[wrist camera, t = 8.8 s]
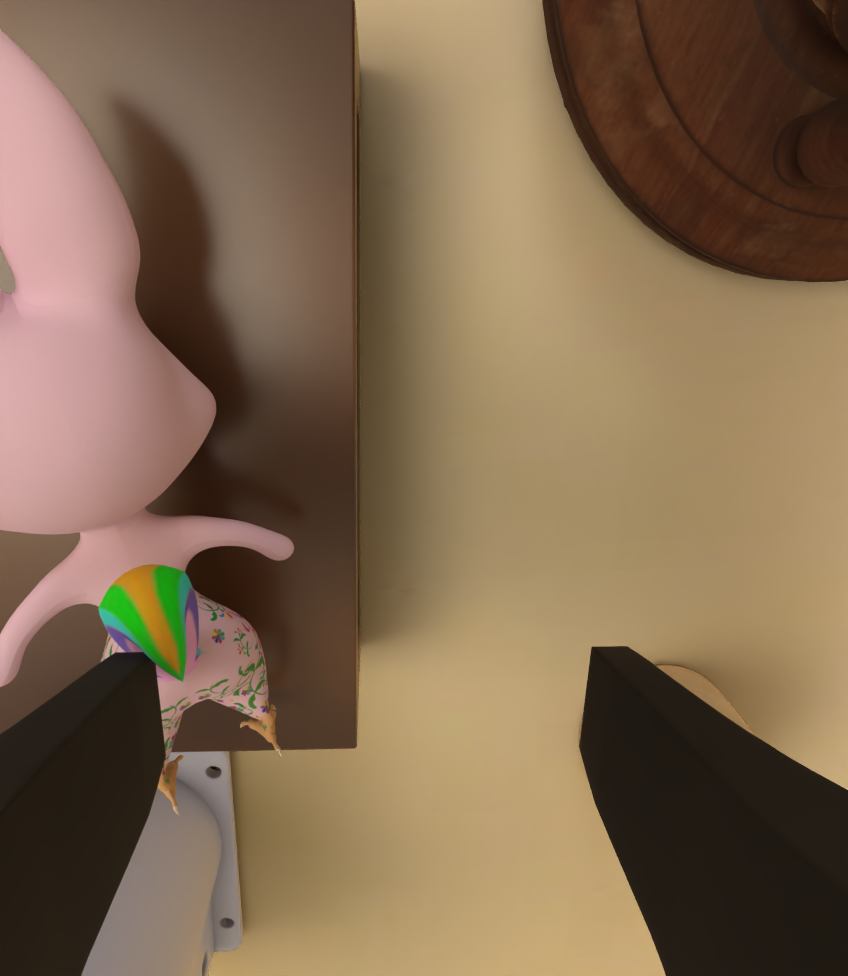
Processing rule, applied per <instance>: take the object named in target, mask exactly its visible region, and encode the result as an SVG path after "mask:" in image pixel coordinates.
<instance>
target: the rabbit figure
mask: <svg viewBox="0 0 848 976" xmlns="http://www.w3.org/2000/svg"><path fill="white" fill-rule="evenodd" d="M0 246H1V249H2V251H3V253H4V255H5V258H6V260H7V262H8V264H9V266H10V269H11V271H12V273H13V276H14V280H15V285H16V288H15V291H14V292H13V293H11V294H8V293H5V292H3V291H2V290H1V289H0V530H4V531H12V532H22V533H32V534H71V533H79V532H80V541H79V543H78V545H77V546H76V547H75V549H74V550H73V551H72V552H71V553H70V554H69V555H68V556H67V557H66V558H65V559H64V560H63V561H62V562H61V563H60V564H59V565H57V566H56V567H55V568H54V569H53V570H51V571H50V572H49V573H48V574H47V575H46V576H45V577H44V578H43V579H42V580H41V581H40V582H39V583H38V585H37V586H36V587H35V588H34V589H33V590H32V592H31V593H30V594H29V595H28V596H27V597H26V598H25V600H24V601H23V602H22V603H21V604H20V605H19V607H18V608H17V609H16V611H15V612H14V613H13V615H12V616H11V617H10V619H9V620H8V622H7V623H6V625H5V627H4V628H3V630H2V632H1V634H0V687H2V686H4V685H7V684H8V683H10V682H11V681H12V680H13V679H14V678H15V676H16V675H17V673H18V671H19V668H20V665H21V661H22V658H23V654H24V652H25V649H26V647H27V645H28V643H29V642H30V640H31V639H32V637H33V636H34V635H35V634H36V632H37V631H38V630H39V629H40V628H41V627H42V626H43V625H44V624H45V623H46V622H47V621H48V620H50V619H51V618H52V617H53V616H55V615H56V614H57V613H59V612H60V611H62V610H63V609H65V608H67V607H70V606H73V605H76V604H84V603H86V604H93V605H96V606H98V607H99V608H98V609H99V614H100V617H101V619H102V621H103V623H104V625H105V628H106V629H107V631H108V637H107V642H106V646H105V649H104V653H103V656H102V659H101V662H102V661H103V660H105V659H106V658H108V657H109V656H111V655H112V654H114V653H115V652H144V653H145V654H146V655H147V656H148V657H149V658H150V659H151V660H152V661H153V662H155V663H156V672H157V680H158V689H159V698H160V707H161V716H162V724H163V733H164V742H165V751H166V758H165V761H164V765H163V769H162V772H161V776H160V780H159V783H158V788H159V790H160V791H161V792H163V793H164V794H165V795H166V797H167V798H168V799H170V800H171V803H172V807H173V810H174V811H175V812H176V813H177V814H178V815H179V812H178V805H177V802H176V800H175V795H176V793H177V792H176V773H177V770H178V762H179V761H180V760H182V759H183V758H185V757H184V756H183V755H179V756H178V757H177V758H176V759H175V760H173V761H170V762H169V763H168V760H169V756H170V753H171V750H172V746H173V743H174V740H175V737H176V734H177V730H178V728H179V724H180V721H181V718H182V714H183V711H184V710H186V709H187V708H189V707H190V706H192V705H193V704H195V703H198V702H200V701H203V700H206V699H211V700H213V701H215V702H217V703H220V704H222V705H225V706H227V707H230V708H232V709H235V710H237V711H240V712H242V713H244V714H247V715H249V716H251V717H253V718H251V719H249V720H248V721H243V722H241V724H240V728H241V727H243V726H245V725H249V727H250V728H251V729H254V730H256V731H257V732H259V733H260V734H261V735H262V736H263V737H265V739H266V740H267V741H268V742H271V743H272V744H273V746H274V748H275V750H276V752H278V753H279V755H280V756H281V757H282V755H281V750H280V747H279V746H278V744H277V742H276V734H275V718H276V712H275V711H274V709H275V710H276V708H275V706H274V705H273V704H271V706H270V710H269V705H268V683H267V672H266V663H265V658H264V654H263V650H262V646H261V643H260V640H259V638H258V636H257V633H256V631H255V630H254V628H253V627H252V626H251V624H250V623H249V622H248V621H246V620H245V619H244V618H243V617H242V616H240V615H239V614H237V613H236V612H234V611H232V610H231V609H229V608H227V607H225V606H222V605H220V604H218V603H216V602H214V601H212V600H210V599H208V598H206V597H204V596H203V595H201V594H200V593H198V592H197V591H196V590H194V589H193V587H192V585H191V582H190V580H189V578H188V576H187V575H186V573H185V570H186V567H187V564H188V563H189V561H190V560H191V559H192V558H193V557H194V556H195V555H196V554H197V553H199V552H200V551H202V550H205V549H208V548H212V547H218V546H241V547H247V548H251V549H253V550H256V551H258V552H260V553H261V554H263V555H265V556H266V557H268V558H270V559H273V560H277V561H280V560H285V559H287V558H289V557H290V556H291V554H292V553H293V551H294V545H293V543H292V541H291V540H290V539H289V538H287V537H286V536H284V535H281V534H279V533H276V532H273V531H271V530H268V529H265V528H262V527H260V526H257V525H254V524H250V523H247V522H243V521H238V520H232V519H224V518H215V517H206V516H161V515H155V514H153V513H150V512H148V511H147V510H146V509H145V506H147V505H148V504H150V503H151V502H152V501H154V500H155V499H156V498H157V497H158V496H160V495H161V494H162V493H163V492H164V491H165V490H166V489H167V488H168V487H169V486H170V485H171V483H172V482H173V481H174V480H175V479H176V478H177V477H178V475H179V474H180V473H181V472H182V471H183V469H184V468H185V467H186V466H187V465H188V463H189V462H190V461H191V459H192V458H193V457H194V455H195V454H196V452H197V451H198V449H199V448H200V446H201V445H202V443H203V441H204V440H205V438H206V436H207V434H208V432H209V430H210V428H211V426H212V424H213V421H214V418H215V415H216V401H215V399H214V396H213V394H212V393H211V392H210V390H209V389H208V388H207V387H206V386H205V385H204V384H203V383H202V382H201V381H200V380H199V379H197V378H196V377H195V376H194V375H193V374H192V373H191V372H190V371H189V370H188V369H187V368H186V367H185V366H184V365H183V364H182V363H181V362H180V361H179V360H178V359H177V358H176V357H175V356H174V355H173V354H172V353H171V352H170V351H169V350H168V349H167V348H166V347H165V346H164V345H163V344H162V343H161V342H160V341H159V340H158V339H157V338H156V337H155V336H154V335H153V334H152V332H151V331H150V330H149V329H148V327H147V326H146V325H145V323H144V321H143V320H142V318H141V316H140V314H139V312H138V309H137V306H136V302H135V288H136V282H137V277H138V272H139V266H140V247H139V241H138V236H137V233H136V229H135V226H134V223H133V220H132V217H131V214H130V211H129V208H128V206H127V203H126V201H125V198H124V196H123V194H122V192H121V190H120V188H119V186H118V184H117V182H116V180H115V178H114V176H113V174H112V172H111V170H110V169H109V167H108V165H107V163H106V162H105V160H104V158H103V156H102V154H101V152H100V151H99V149H98V147H97V145H96V143H95V141H94V139H93V138H92V136H91V134H90V133H89V131H88V129H87V128H86V126H85V125H84V123H83V121H82V120H81V118H80V117H79V115H78V114H77V112H76V111H75V110H74V108H73V107H72V106H71V104H70V103H69V102H68V100H67V99H66V98H65V96H64V95H63V94H62V93H61V91H60V90H59V89H58V88H57V86H56V85H55V84H54V83H53V82H52V81H51V80H50V78H49V77H48V76H47V75H46V74H45V73H44V72H43V71H42V70H41V68H40V67H39V66H38V65H37V64H36V63H35V62H34V61H33V60H32V59H31V58H30V57H29V56H28V55H27V54H26V53H25V52H24V51H23V50H22V49H21V48H20V47H19V46H18V45H16V44H15V43H14V42H13V41H12V40H11V39H10V38H9V37H8V36H7V35H6V34H5V33H4V32H3V31H2V30H1V29H0Z"/></svg>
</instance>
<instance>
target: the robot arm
mask: <svg viewBox="0 0 848 976" xmlns="http://www.w3.org/2000/svg"><path fill="white" fill-rule="evenodd" d="M579 747H580V751H581V755H582V759H583V762H584V766H585V770H586V774H587V777H588V781H589V784H590V788H591V791H592V794H593V798H594V801H595V804H596V806H597V809H598V811H599V814H600V816H601V819H602V821H603V823H604V826H605V828H606V831H607V833H608V835H609V838H610V840H611V842H612V845H613V847H614V850H615V852H616V854H617V857H618V859H619V861H620V864H621V866H622V868H623V871H624V873H625V875H626V878H627V880H628V882H629V885H630V887H631V889H632V892H633V894H634V896H635V899H636V901H637V903H638V906H639V908H640V910H641V913H642V915H643V917H644V920H645V922H646V924H647V927H648V929H649V931H650V934H651V936H652V939H653V941H654V944H655V947H656V949H657V952H658V954H659V957H660V960H661V962H662V965H663V968H664V971H665V974H666V976H848V790H846V789H845V788H843V787H841V786H839V785H837V784H836V783H834V782H832V781H830V780H828V779H826V778H825V777H823V776H821V775H819V774H817V773H815V772H814V771H812V770H810V769H808V768H806V767H805V766H803V765H801V764H800V763H798V762H796V761H794V760H793V759H791V758H789V757H788V756H786V755H784V754H783V753H781V752H780V751H778V750H776V749H775V748H773V747H772V746H770V745H769V744H767V743H765V742H764V741H762V740H761V739H759V738H758V737H756V736H754V735H753V734H751V733H750V732H748V731H747V730H745V729H744V728H742V727H741V726H739V725H738V724H736V723H735V722H733V721H732V720H730V719H729V718H727V717H726V716H724V715H723V714H722V713H720V712H719V711H717V710H716V709H714V708H713V707H712V706H710V705H709V704H707V703H706V702H705V701H703V700H702V699H700V698H699V697H698V696H696V695H695V694H693V693H692V692H691V691H689V690H688V689H686V688H685V687H684V686H682V685H681V684H680V683H678V682H677V681H676V680H674V679H673V678H671V677H670V676H669V675H667V674H666V673H665V672H663V671H662V670H661V669H659V668H658V667H656V666H655V665H654V664H652V663H651V662H650V661H648V660H647V659H645V658H644V657H642V656H641V655H640V654H638V653H637V652H635V651H633V650H632V649H630V648H629V647H627V646H614V647H592V648H591V656H590V664H589V672H588V680H587V688H586V696H585V704H584V712H583V720H582V728H581V736H580V744H579ZM179 755H183V756H184V757H185V758H183V759H182V760H180V761H179V762H178V770H177V773H176V792H177V793H176V795H175V800H176V802H177V805H178V812H179V815H178V814H177V813H176V812H175V811H174V810H173V807H172V803H171V800H170V799H168V798H167V797H166V795H165V794H164V793H163V792H161V791H160V790H159V788H158V783H159V780H160V776H161V772H162V769H163V765H164V761H165V758H166V751H165V742H164V733H163V724H162V716H161V707H160V698H159V689H158V680H157V672H156V663H155V662H153V661H152V660H151V659H150V658H149V657H148V656H147V655H146V654H145V653H144V652H115V653H114V654H112V655H111V656H109V657H108V658H106V659H105V660H103V661H102V662H100V663H99V664H97V665H96V666H95V667H93V668H92V669H90V670H89V671H88V672H86V673H85V674H84V675H82V676H81V677H79V678H78V679H77V680H75V681H74V682H73V683H71V684H70V685H69V686H67V687H66V688H64V689H63V690H62V691H60V692H59V693H58V694H56V695H55V696H53V697H52V698H51V699H49V700H48V701H47V702H45V703H44V704H42V705H41V706H40V707H38V708H37V709H35V710H34V711H33V712H31V713H30V714H29V715H27V716H26V717H24V718H23V719H22V720H20V721H19V722H17V723H16V724H15V725H13V726H12V727H10V728H9V729H7V730H6V731H4V732H3V733H1V734H0V976H208V975H209V971H210V966H211V962H212V958H213V953H214V952H219V951H232V950H235V949H237V948H239V947H240V945H241V943H242V938H243V921H242V908H241V895H240V882H239V869H238V856H237V843H236V830H235V817H234V804H233V791H232V778H231V765H230V753H229V751H216V752H171V753H170V756H169V760H168V763H169V762H170V761H173V760H175V759H176V758H177V757H178V756H179ZM211 766H216V767H218V768H220V770H212V769H211V768H210V767H211ZM228 918H230V919H228Z"/></svg>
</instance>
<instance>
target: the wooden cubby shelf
mask: <svg viewBox="0 0 848 976" xmlns="http://www.w3.org/2000/svg"><path fill="white" fill-rule="evenodd" d="M0 29H1V30H2V31H3V32H4V33H5V34H6V35H7V36H8V37H9V38H10V39H11V40H12V41H13V42H14V43H15V44H16V45H18V46H19V47H20V48H21V49H22V50H23V51H24V52H25V53H26V54H27V55H28V56H29V57H30V58H31V59H32V60H33V61H34V62H35V63H36V64H37V65H38V66H39V67H40V68H41V70H42V71H43V72H44V73H45V74H46V75H47V76H48V77H49V78H50V80H51V81H52V82H53V83H54V84H55V85H56V86H57V88H58V89H59V90H60V91H61V93H62V94H63V95H64V96H65V98H66V99H67V100H68V102H69V103H70V104H71V106H72V107H73V108H74V110H75V111H76V112H77V114H78V115H79V117H80V118H81V120H82V121H83V123H84V125H85V126H86V128H87V129H88V131H89V133H90V134H91V136H92V138H93V139H94V141H95V143H96V145H97V147H98V149H99V151H100V152H101V154H102V156H103V158H104V160H105V162H106V163H107V165H108V167H109V169H110V170H111V172H112V174H113V176H114V178H115V180H116V182H117V184H118V186H119V188H120V190H121V192H122V194H123V196H124V198H125V201H126V203H127V206H128V208H129V211H130V214H131V217H132V220H133V223H134V226H135V229H136V233H137V236H138V241H139V247H140V266H139V272H138V277H137V282H136V288H135V302H136V306H137V309H138V312H139V314H140V316H141V318H142V320H143V321H144V323H145V325H146V326H147V327H148V329H149V330H150V331H151V332H152V334H153V335H154V336H155V337H156V338H157V339H158V340H159V341H160V342H161V343H162V344H163V345H164V346H165V347H166V348H167V349H168V350H169V351H170V352H171V353H172V354H173V355H174V356H175V357H176V358H177V359H178V360H179V361H180V362H181V363H182V364H183V365H184V366H185V367H186V368H187V369H188V370H189V371H190V372H191V373H192V374H193V375H194V376H195V377H196V378H197V379H199V380H200V381H201V382H202V383H203V384H204V385H205V386H206V387H207V388H208V389H209V390H210V392H211V393H212V394H213V396H214V399H215V401H216V415H215V418H214V421H213V424H212V426H211V428H210V430H209V432H208V434H207V436H206V438H205V440H204V441H203V443H202V445H201V446H200V448H199V449H198V451H197V452H196V454H195V455H194V457H193V458H192V459H191V461H190V462H189V463H188V465H187V466H186V467H185V468H184V469H183V471H182V472H181V473H180V474H179V475H178V477H177V478H176V479H175V480H174V481H173V482H172V483H171V485H170V486H169V487H168V488H167V489H166V490H165V491H164V492H163V493H162V494H161V495H160V496H158V497H157V498H156V499H155V500H154V501H152V502H151V503H150V504H148V505H147V506H145V509H146V510H147V511H148V512H150V513H153V514H155V515H161V516H206V517H215V518H224V519H232V520H238V521H243V522H247V523H250V524H254V525H257V526H260V527H262V528H265V529H268V530H271V531H273V532H276V533H279V534H281V535H284V536H286V537H287V538H289V539H290V540H291V541H292V543H293V545H294V551H293V553H292V554H291V556H290V557H289V558H287V559H285V560H280V561H277V560H273V559H270V558H268V557H266V556H265V555H263V554H261V553H260V552H258V551H256V550H253V549H251V548H247V547H241V546H218V547H212V548H208V549H205V550H202V551H200V552H199V553H197V554H196V555H195V556H194V557H193V558H192V559H191V560H190V561H189V563H188V564H187V567H186V570H185V573H186V575H187V576H188V578H189V580H190V582H191V585H192V587H193V589H194V590H196V591H197V592H198V593H200V594H201V595H203V596H204V597H206V598H208V599H210V600H212V601H214V602H216V603H218V604H220V605H222V606H225V607H227V608H229V609H231V610H232V611H234V612H236V613H237V614H239V615H240V616H242V617H243V618H244V619H245V620H246V621H248V622H249V623H250V624H251V626H252V627H253V628H254V630H255V631H256V633H257V636H258V638H259V640H260V643H261V646H262V650H263V654H264V658H265V663H266V672H267V683H268V705H269V710H270V706H271V704H273V705H274V706H275V708H276V710H275V709H274V711H275V712H276V718H275V734H276V742H277V744H278V746H279V747H280V750H306V749H351V748H356V746H357V730H358V702H359V673H360V60H359V47H358V34H357V23H356V9H355V1H354V0H0ZM15 288H16V285H15V280H14V276H13V273H12V271H11V269H10V266H9V264H8V262H7V260H6V258H5V255H4V253H3V251H2V249H1V246H0V289H1V290H2V291H3V292H5V293H8V294H11V293H13V292H14V291H15ZM79 541H80V532H79V533H71V534H32V533H22V532H12V531H4V530H0V634H1V632H2V630H3V628H4V627H5V625H6V623H7V622H8V620H9V619H10V617H11V616H12V615H13V613H14V612H15V611H16V609H17V608H18V607H19V605H20V604H21V603H22V602H23V601H24V600H25V598H26V597H27V596H28V595H29V594H30V593H31V592H32V590H33V589H34V588H35V587H36V586H37V585H38V583H39V582H40V581H41V580H42V579H43V578H44V577H45V576H46V575H47V574H48V573H49V572H50V571H51V570H53V569H54V568H55V567H56V566H57V565H59V564H60V563H61V562H62V561H63V560H64V559H65V558H66V557H67V556H68V555H69V554H70V553H71V552H72V551H73V550H74V549H75V547H76V546H77V545H78V543H79ZM98 608H99V607H98V606H96V605H93V604H86V603H84V604H76V605H73V606H70V607H67V608H65V609H63V610H62V611H60V612H59V613H57V614H56V615H55V616H53V617H52V618H51V619H50V620H48V621H47V622H46V623H45V624H44V625H43V626H42V627H41V628H40V629H39V630H38V631H37V632H36V634H35V635H34V636H33V637H32V639H31V640H30V642H29V643H28V645H27V647H26V649H25V652H24V654H23V658H22V661H21V665H20V668H19V671H18V673H17V675H16V676H15V678H14V679H13V680H12V681H11V682H10V683H8V684H7V685H4V686H2V687H0V734H1V733H3V732H4V731H6V730H7V729H9V728H10V727H12V726H13V725H15V724H16V723H17V722H19V721H20V720H22V719H23V718H24V717H26V716H27V715H29V714H30V713H31V712H33V711H34V710H35V709H37V708H38V707H40V706H41V705H42V704H44V703H45V702H47V701H48V700H49V699H51V698H52V697H53V696H55V695H56V694H58V693H59V692H60V691H62V690H63V689H64V688H66V687H67V686H69V685H70V684H71V683H73V682H74V681H75V680H77V679H78V678H79V677H81V676H82V675H84V674H85V673H86V672H88V671H89V670H90V669H92V668H93V667H95V666H96V665H97V664H99V663H100V662H101V659H102V656H103V653H104V649H105V646H106V642H107V637H108V631H107V629H106V628H105V625H104V623H103V621H102V619H101V617H100V614H99V609H98ZM251 718H253V717H251V716H249V715H247V714H244V713H242V712H240V711H237V710H235V709H232V708H230V707H227V706H225V705H222V704H220V703H217V702H215V701H213V700H211V699H206V700H203V701H200V702H198V703H195V704H193V705H192V706H190V707H189V708H187V709H186V710H184V711H183V714H182V718H181V721H180V724H179V728H178V730H177V734H176V737H175V740H174V743H173V746H172V750H171V752H216V751H261V750H275V748H274V746H273V744H272V743H271V742H268V741H267V740H266V739H265V737H263V736H262V735H261V734H260V733H259V732H257V731H256V730H254V729H251V728H250V727H249V725H245V726H243V727H241V728H240V724H241V722H243V721H248V720H249V719H251Z"/></svg>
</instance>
